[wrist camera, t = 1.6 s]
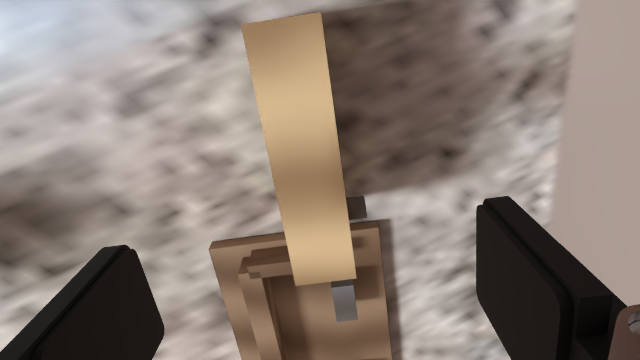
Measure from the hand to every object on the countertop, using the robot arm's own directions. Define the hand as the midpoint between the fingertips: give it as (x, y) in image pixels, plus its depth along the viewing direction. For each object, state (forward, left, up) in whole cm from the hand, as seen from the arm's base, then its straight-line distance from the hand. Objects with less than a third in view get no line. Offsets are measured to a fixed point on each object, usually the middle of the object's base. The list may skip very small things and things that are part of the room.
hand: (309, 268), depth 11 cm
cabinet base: (+17, -3, -16) cm, 23 cm away
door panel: (0, 0, -16) cm, 16 cm away
